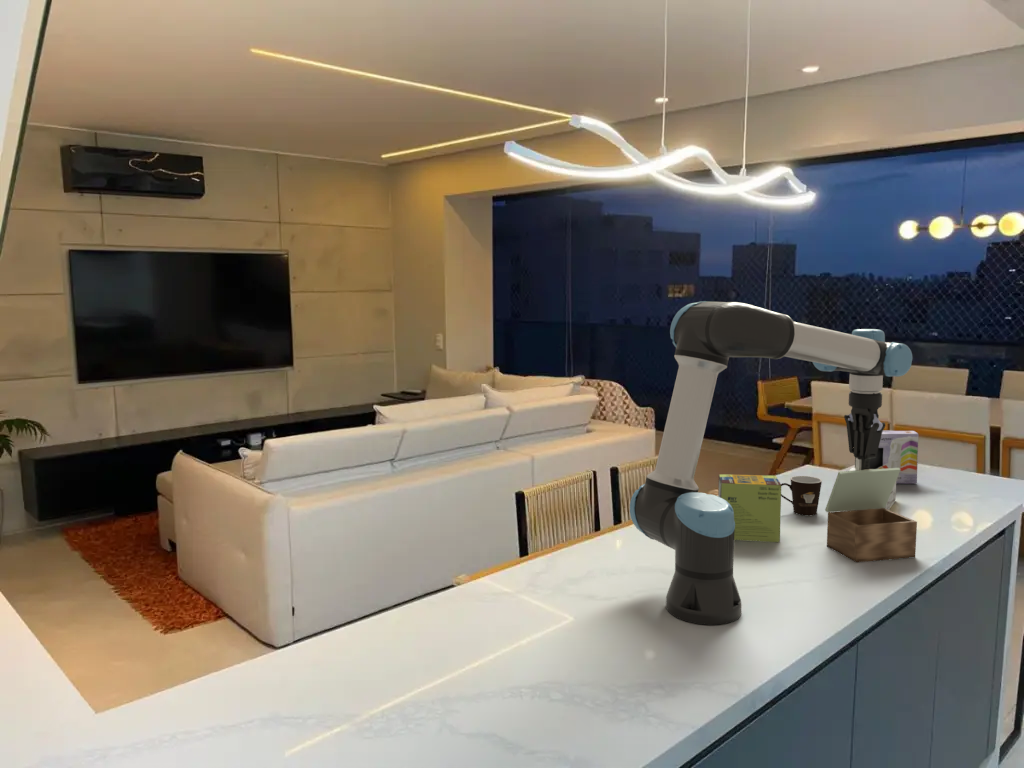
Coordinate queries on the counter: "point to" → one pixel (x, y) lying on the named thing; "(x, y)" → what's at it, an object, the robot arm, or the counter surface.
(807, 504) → the coffee mug
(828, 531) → the crate
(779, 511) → the protein box
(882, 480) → the lid
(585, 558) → the counter surface
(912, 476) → the cake pan box
